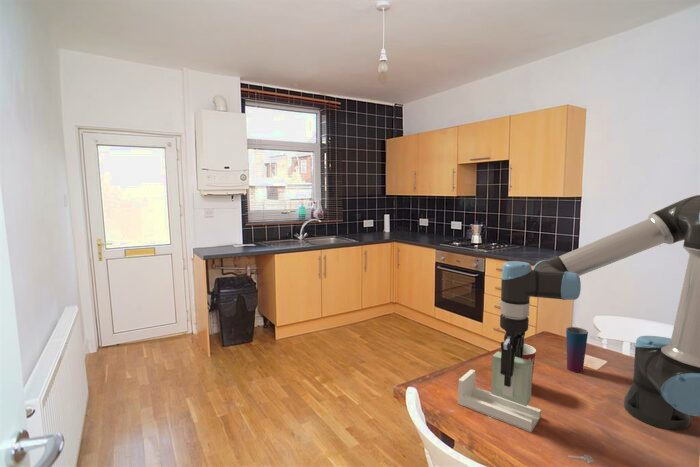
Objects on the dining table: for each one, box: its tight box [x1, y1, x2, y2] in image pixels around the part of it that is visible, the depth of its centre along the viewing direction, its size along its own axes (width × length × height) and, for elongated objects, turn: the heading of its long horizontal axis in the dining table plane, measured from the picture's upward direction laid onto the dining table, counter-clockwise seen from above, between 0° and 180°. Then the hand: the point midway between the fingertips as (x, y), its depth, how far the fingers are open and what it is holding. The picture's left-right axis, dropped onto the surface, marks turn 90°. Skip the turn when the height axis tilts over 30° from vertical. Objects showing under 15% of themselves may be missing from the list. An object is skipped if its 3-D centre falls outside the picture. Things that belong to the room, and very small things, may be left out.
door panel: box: [490, 351, 533, 406], centre depth 110 cm, size 10×4×12 cm, turn 48°
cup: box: [565, 326, 589, 374], centre depth 138 cm, size 7×7×15 cm
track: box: [457, 369, 542, 433], centre depth 113 cm, size 22×9×8 cm, turn 48°
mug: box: [523, 343, 537, 378], centre depth 129 cm, size 13×9×14 cm
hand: (511, 391), depth 111 cm, fingers closed on door panel, 4 cm apart
